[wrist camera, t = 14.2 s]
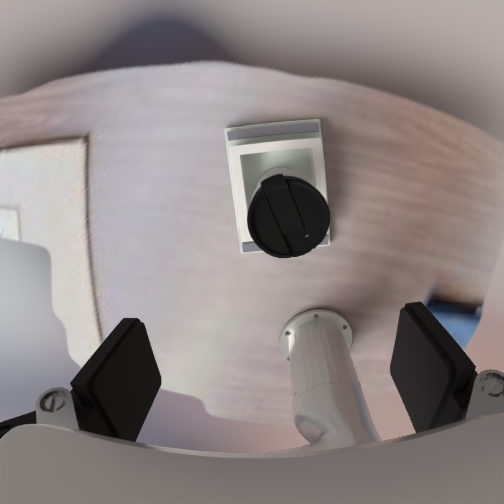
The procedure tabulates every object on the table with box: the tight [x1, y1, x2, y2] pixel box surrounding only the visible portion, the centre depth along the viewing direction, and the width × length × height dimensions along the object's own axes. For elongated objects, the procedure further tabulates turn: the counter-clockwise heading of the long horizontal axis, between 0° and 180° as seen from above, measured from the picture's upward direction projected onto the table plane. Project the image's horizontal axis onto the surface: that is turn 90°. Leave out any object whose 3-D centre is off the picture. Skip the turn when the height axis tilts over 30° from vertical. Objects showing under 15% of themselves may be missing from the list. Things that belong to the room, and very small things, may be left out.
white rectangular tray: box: [224, 119, 330, 254], centre depth 38 cm, size 18×13×4 cm
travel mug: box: [247, 167, 330, 258], centre depth 30 cm, size 6×7×20 cm
